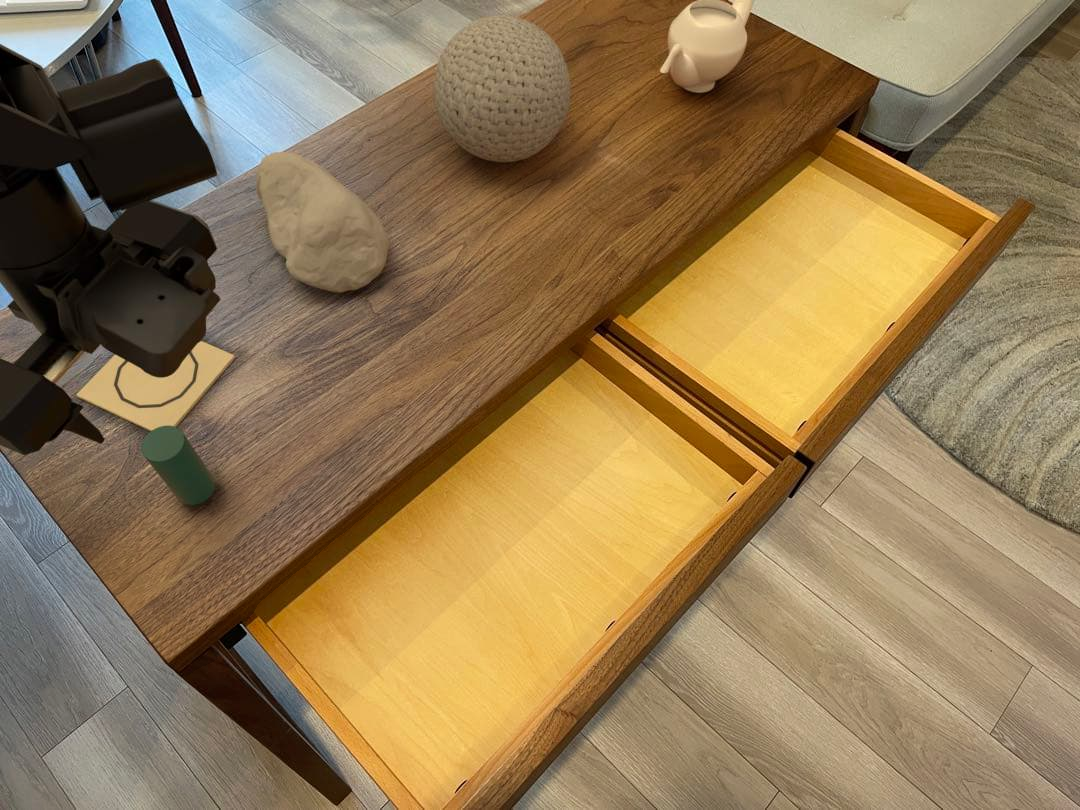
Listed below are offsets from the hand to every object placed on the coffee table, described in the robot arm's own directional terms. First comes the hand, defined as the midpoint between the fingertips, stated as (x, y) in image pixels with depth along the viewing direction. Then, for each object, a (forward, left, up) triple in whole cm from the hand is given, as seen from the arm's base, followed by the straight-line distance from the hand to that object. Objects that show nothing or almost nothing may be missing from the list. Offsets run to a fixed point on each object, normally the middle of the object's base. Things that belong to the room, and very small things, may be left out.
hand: (140, 389), depth 56 cm
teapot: (+21, +74, -13) cm, 77 cm away
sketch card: (-10, +7, -13) cm, 18 cm away
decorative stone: (-6, +28, -14) cm, 31 cm away
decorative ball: (+4, +51, -14) cm, 53 cm away
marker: (+1, -1, -13) cm, 13 cm away
